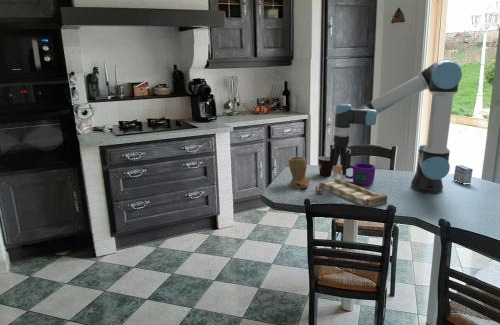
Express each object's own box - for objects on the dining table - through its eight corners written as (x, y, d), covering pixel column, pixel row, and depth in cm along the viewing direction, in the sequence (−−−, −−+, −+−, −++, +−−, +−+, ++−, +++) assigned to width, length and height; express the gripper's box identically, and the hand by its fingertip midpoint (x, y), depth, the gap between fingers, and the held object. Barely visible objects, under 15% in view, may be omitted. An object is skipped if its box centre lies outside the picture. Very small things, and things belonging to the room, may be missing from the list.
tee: (323, 193, 196) (324, 187, 195) (318, 195, 194) (319, 188, 193) (319, 191, 199) (319, 185, 198) (314, 193, 197) (315, 186, 196)
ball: (345, 174, 200) (346, 165, 199) (338, 176, 198) (339, 166, 196) (339, 172, 204) (339, 163, 203) (331, 173, 202) (332, 164, 200)
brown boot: (290, 179, 218) (290, 153, 214) (311, 181, 215) (312, 154, 211) (284, 188, 204) (285, 160, 200) (307, 190, 201) (308, 162, 197)
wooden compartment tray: (386, 202, 185) (387, 195, 184) (368, 207, 179) (369, 200, 178) (336, 182, 213) (336, 176, 212) (319, 186, 207) (319, 179, 206)
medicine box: (452, 180, 216) (455, 165, 213) (459, 179, 217) (462, 164, 214) (463, 185, 208) (466, 169, 206) (470, 184, 209) (473, 168, 207)
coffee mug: (332, 177, 220) (334, 160, 218) (317, 176, 222) (318, 160, 219) (332, 171, 231) (333, 155, 228) (318, 170, 233) (319, 154, 230)
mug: (376, 182, 213) (377, 164, 210) (370, 188, 204) (372, 169, 201) (345, 177, 222) (346, 160, 219) (338, 182, 212) (339, 165, 210)
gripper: (323, 132, 201) (321, 175, 207) (349, 139, 186) (345, 185, 192) (334, 131, 204) (331, 173, 211) (360, 137, 190) (356, 183, 196)
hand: (338, 179), depth 202 cm, fingers closed on ball, 5 cm apart
